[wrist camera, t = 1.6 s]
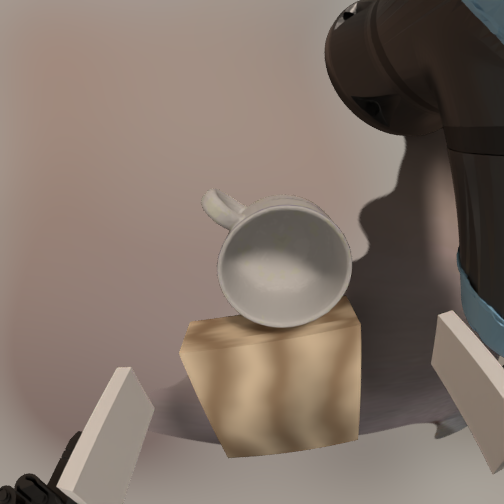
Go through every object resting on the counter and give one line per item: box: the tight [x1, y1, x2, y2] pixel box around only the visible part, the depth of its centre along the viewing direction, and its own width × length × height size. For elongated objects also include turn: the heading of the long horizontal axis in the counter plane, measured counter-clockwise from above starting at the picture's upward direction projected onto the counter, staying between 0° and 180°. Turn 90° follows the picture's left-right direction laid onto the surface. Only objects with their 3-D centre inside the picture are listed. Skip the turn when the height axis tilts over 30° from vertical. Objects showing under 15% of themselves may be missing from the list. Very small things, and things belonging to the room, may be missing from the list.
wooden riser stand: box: [179, 296, 361, 458], centre depth 35 cm, size 18×20×6 cm
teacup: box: [201, 188, 352, 328], centre depth 27 cm, size 14×11×8 cm
